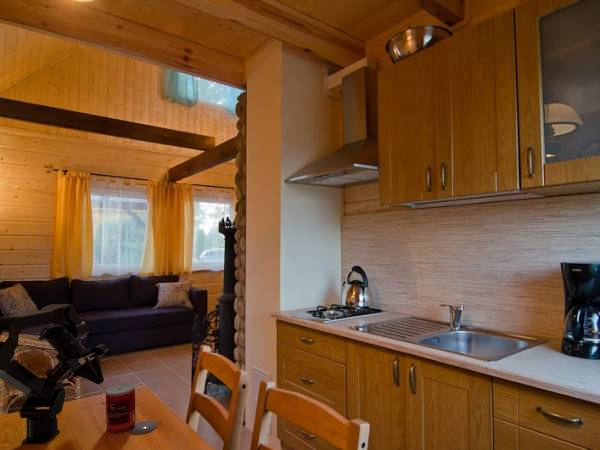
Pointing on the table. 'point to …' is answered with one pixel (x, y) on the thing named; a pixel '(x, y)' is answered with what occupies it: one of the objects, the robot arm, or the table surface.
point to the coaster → (143, 427)
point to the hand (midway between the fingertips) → (101, 382)
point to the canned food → (120, 407)
